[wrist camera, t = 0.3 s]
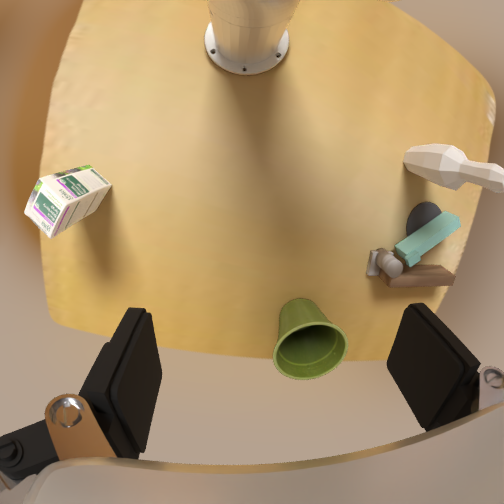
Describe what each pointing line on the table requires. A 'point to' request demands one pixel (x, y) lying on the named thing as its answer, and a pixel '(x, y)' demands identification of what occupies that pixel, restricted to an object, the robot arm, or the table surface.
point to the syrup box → (65, 198)
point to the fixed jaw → (406, 272)
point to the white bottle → (452, 167)
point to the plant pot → (307, 342)
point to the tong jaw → (427, 237)
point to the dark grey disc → (421, 216)
